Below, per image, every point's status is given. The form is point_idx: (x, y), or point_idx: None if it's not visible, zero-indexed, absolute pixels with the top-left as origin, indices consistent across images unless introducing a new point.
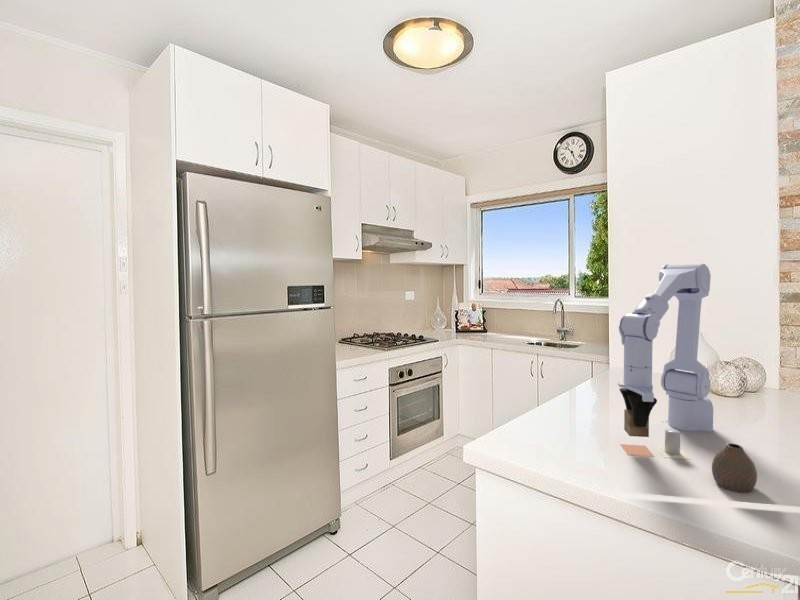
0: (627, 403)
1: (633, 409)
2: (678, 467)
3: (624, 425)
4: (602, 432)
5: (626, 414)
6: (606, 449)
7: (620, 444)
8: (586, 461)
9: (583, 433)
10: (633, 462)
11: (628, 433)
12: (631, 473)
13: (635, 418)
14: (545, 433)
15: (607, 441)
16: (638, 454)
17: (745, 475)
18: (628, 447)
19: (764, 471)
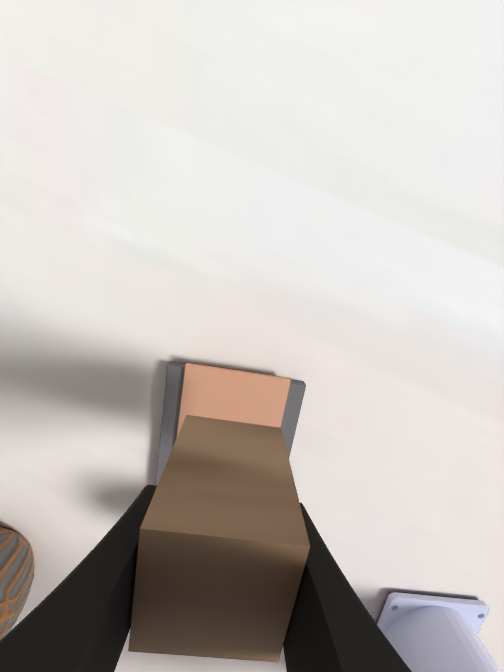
0: (328, 647)
1: (7, 640)
2: (127, 485)
3: (280, 442)
4: (441, 369)
5: (245, 512)
6: (271, 313)
7: (286, 379)
8: (148, 172)
9: (446, 283)
10: (154, 364)
11: (204, 421)
12: (57, 315)
13: (106, 537)
14: (485, 73)
15: (349, 351)
16: (190, 404)
17: None
18: (255, 397)
19: (126, 659)
